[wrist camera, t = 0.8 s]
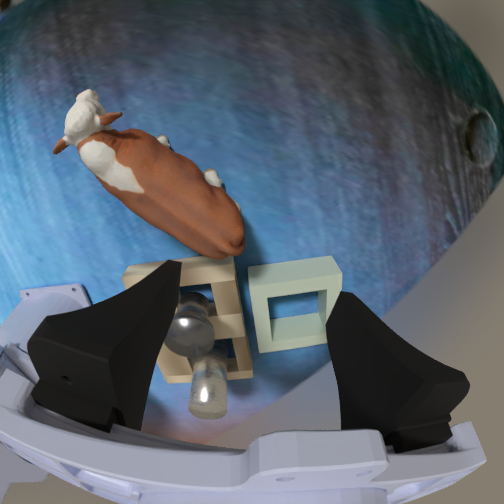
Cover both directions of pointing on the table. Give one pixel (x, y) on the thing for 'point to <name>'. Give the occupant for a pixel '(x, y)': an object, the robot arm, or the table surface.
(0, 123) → the table surface
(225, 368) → the silver metal cylinder
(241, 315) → the socket block
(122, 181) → the bull figurine
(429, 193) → the table surface
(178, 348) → the round dark knob
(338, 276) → the grey-green hollow square block
